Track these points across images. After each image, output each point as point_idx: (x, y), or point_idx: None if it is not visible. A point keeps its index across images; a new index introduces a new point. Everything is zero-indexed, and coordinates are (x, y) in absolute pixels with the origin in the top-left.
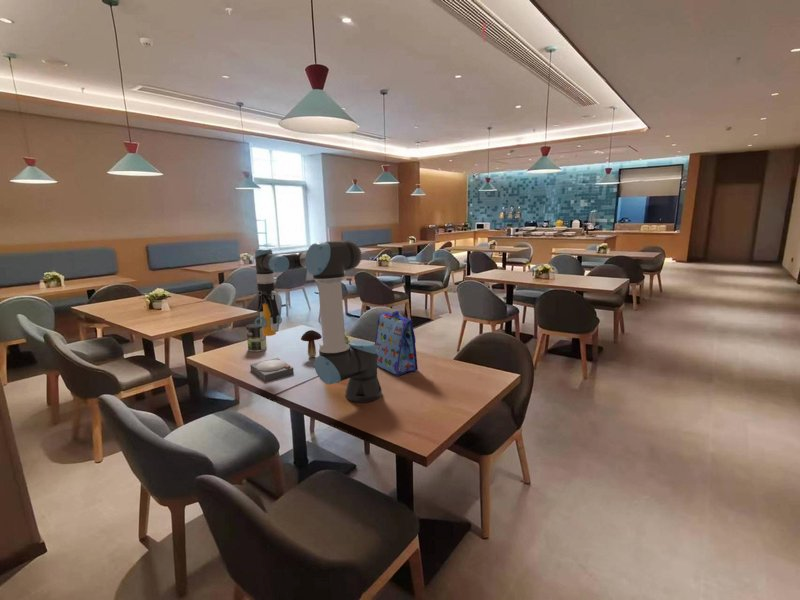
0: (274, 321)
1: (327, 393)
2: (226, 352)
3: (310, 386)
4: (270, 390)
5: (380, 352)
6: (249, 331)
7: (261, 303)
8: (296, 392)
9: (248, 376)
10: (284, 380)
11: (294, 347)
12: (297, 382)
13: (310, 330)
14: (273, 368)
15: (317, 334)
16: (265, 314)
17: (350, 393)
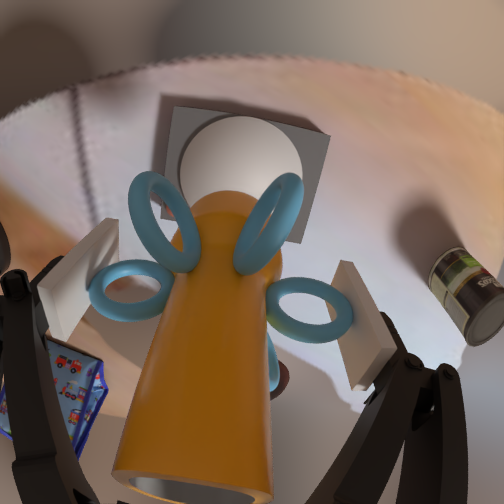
0: (45, 272)
1: (13, 194)
2: (498, 201)
3: (57, 188)
4: (105, 86)
5: (61, 376)
6: (491, 285)
7: (362, 469)
8: (50, 139)
9: (274, 91)
10: (138, 156)
11: None
12: (98, 177)
13: None
14: (197, 159)
15: None
16: (176, 320)
17: None
